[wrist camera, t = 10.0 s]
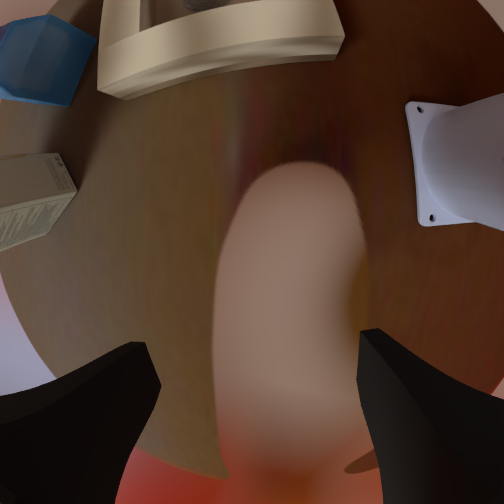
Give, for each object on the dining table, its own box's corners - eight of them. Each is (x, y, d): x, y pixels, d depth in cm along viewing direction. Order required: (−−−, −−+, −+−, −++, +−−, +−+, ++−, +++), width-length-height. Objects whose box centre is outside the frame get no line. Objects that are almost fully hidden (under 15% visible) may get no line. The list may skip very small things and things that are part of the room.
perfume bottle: (69, 107, 16) (-52, 90, 4) (32, 103, 16) (-68, 94, 4) (98, 39, 14) (-6, -10, 3) (56, 43, 14) (-35, 14, 3)
